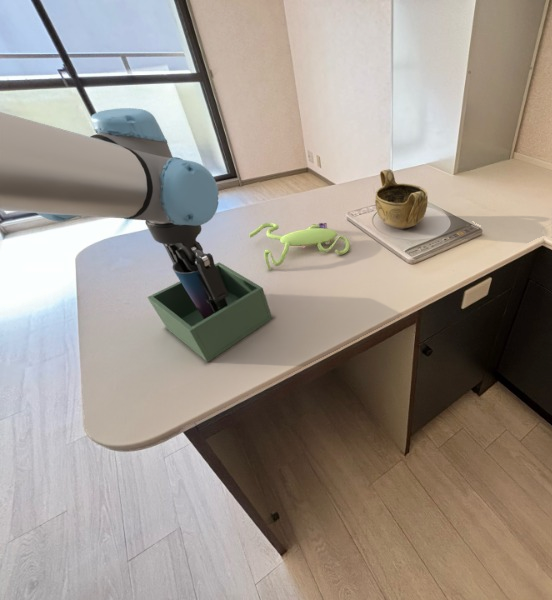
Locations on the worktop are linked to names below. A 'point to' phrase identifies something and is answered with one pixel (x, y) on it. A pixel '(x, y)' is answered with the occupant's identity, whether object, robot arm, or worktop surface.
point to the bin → (221, 325)
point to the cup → (194, 289)
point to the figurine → (301, 239)
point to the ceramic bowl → (400, 202)
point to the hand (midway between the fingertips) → (216, 313)
